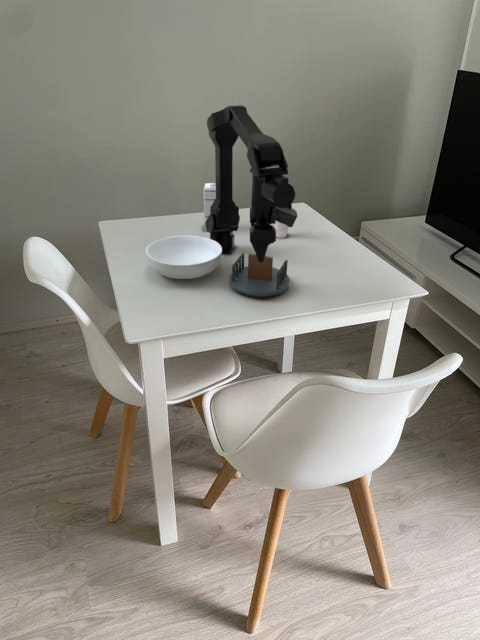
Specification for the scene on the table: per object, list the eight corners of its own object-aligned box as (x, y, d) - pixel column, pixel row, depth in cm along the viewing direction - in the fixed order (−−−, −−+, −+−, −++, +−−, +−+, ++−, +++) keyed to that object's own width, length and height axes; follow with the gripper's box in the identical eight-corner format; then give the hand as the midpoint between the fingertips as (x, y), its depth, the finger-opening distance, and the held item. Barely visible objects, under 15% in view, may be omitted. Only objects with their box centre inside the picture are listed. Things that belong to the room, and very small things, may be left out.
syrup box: (221, 231, 172) (222, 188, 164) (203, 231, 172) (203, 187, 164) (222, 225, 177) (222, 183, 169) (205, 224, 177) (204, 182, 169)
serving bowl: (229, 260, 153) (229, 238, 149) (211, 292, 135) (211, 268, 132) (161, 252, 156) (160, 231, 153) (135, 283, 139) (133, 260, 135)
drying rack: (280, 300, 130) (282, 273, 126) (220, 289, 134) (220, 263, 130) (296, 272, 144) (298, 247, 140) (241, 263, 148) (242, 239, 144)
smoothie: (294, 234, 171) (297, 192, 164) (284, 240, 166) (287, 198, 159) (277, 230, 174) (279, 189, 167) (267, 236, 169) (269, 194, 162)
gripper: (299, 209, 118) (294, 271, 126) (293, 184, 134) (289, 241, 142) (250, 207, 118) (248, 269, 126) (250, 183, 134) (248, 240, 142)
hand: (260, 254), depth 134 cm, fingers open, 9 cm apart
